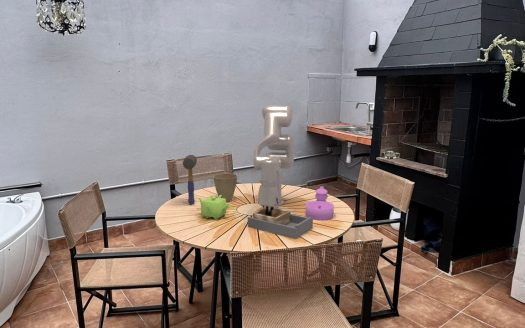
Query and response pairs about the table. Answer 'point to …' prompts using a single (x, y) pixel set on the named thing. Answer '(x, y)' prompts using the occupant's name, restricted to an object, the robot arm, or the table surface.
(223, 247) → the table surface
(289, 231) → the tray
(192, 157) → the rubber mallet
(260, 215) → the crate
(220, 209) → the green lumpy block
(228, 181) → the plant pot
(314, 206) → the container set
